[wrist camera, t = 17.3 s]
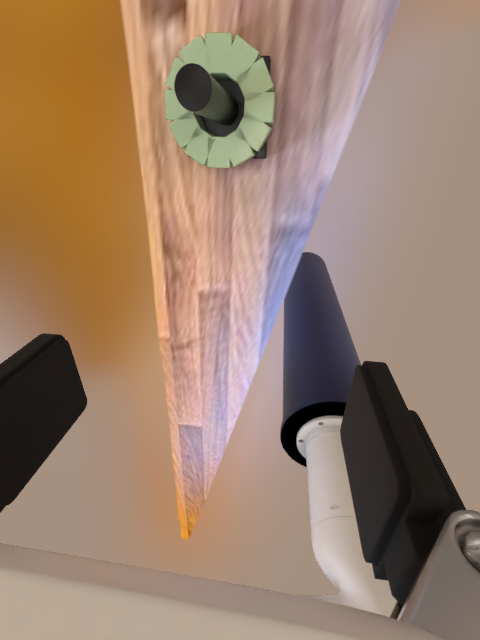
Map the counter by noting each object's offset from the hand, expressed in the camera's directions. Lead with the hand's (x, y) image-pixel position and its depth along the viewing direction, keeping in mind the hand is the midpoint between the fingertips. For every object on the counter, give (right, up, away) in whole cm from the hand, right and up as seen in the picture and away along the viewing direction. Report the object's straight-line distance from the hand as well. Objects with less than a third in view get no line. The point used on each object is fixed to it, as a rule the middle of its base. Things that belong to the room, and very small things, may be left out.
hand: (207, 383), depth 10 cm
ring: (-1, +22, +19) cm, 29 cm away
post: (0, +23, +20) cm, 30 cm away
